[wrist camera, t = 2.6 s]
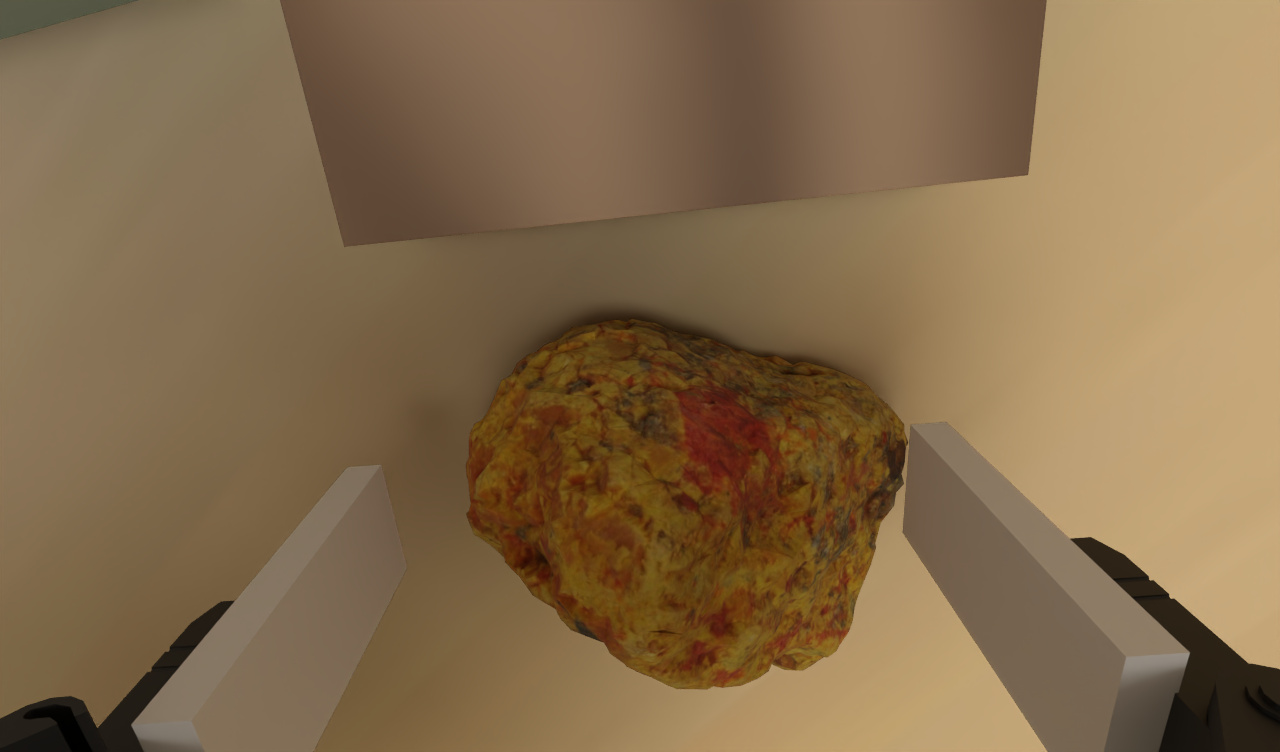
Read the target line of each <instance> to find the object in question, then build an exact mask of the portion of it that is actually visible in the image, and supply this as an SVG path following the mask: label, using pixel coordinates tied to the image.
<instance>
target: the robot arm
mask: <svg viewBox="0 0 1280 752" xmlns="http://www.w3.org/2000/svg"><path fill="white" fill-rule="evenodd" d="M903 534H904V535H905V537H906V538H907V540H908V541H909V543H910V544H911V546H912V547H913V549H914V550H915V552H916V553H917V555H918V556H919V558H920V559H921V561H922V562H923V564H924V565H925V567H926V568H927V570H928V571H929V573H930V574H931V576H932V577H933V579H934V580H935V582H936V583H937V585H938V586H939V588H940V590H941V591H942V593H943V594H944V596H945V597H946V599H947V600H948V602H949V603H950V605H951V606H952V608H953V609H954V611H955V612H956V614H957V615H958V617H959V618H960V620H961V621H962V623H963V624H964V626H965V627H966V629H967V630H968V632H969V633H970V635H971V636H972V638H973V639H974V641H975V642H976V644H977V645H978V647H979V648H980V650H981V651H982V653H983V654H984V656H985V657H986V659H987V661H988V662H989V664H990V665H991V667H992V668H993V670H994V671H995V673H996V674H997V676H998V677H999V679H1000V680H1001V682H1002V683H1003V685H1004V686H1005V688H1006V689H1007V691H1008V692H1009V694H1010V695H1011V697H1012V698H1013V700H1014V701H1015V703H1016V704H1017V706H1018V707H1019V709H1020V710H1021V712H1022V713H1023V715H1024V716H1025V718H1026V719H1027V721H1028V722H1029V724H1030V725H1031V727H1032V728H1033V730H1034V732H1035V733H1036V735H1037V736H1038V738H1039V739H1040V741H1041V742H1042V744H1043V745H1044V747H1045V748H1046V750H1047V751H1048V752H1280V669H1277V668H1271V667H1266V666H1261V665H1256V664H1248V663H1247V662H1246V661H1245V660H1244V659H1243V658H1242V657H1240V656H1239V655H1238V654H1237V653H1236V652H1235V651H1234V650H1232V649H1231V648H1230V647H1229V646H1228V645H1227V644H1226V643H1224V642H1223V641H1222V640H1221V639H1220V638H1219V637H1218V636H1216V635H1215V634H1214V633H1213V632H1212V631H1211V630H1210V629H1208V628H1207V627H1206V626H1205V625H1204V624H1203V623H1202V622H1200V621H1199V620H1198V619H1197V618H1196V617H1195V616H1194V615H1192V614H1191V613H1190V612H1189V611H1188V610H1187V609H1186V608H1184V607H1183V606H1182V605H1181V604H1180V603H1179V602H1178V601H1176V600H1175V599H1170V597H1169V594H1168V593H1167V592H1166V591H1165V590H1164V589H1163V588H1162V587H1160V586H1159V585H1158V584H1157V583H1156V582H1155V581H1153V580H1152V581H1150V580H1149V576H1148V575H1147V574H1145V573H1144V572H1143V571H1142V570H1141V569H1140V568H1139V567H1137V566H1136V565H1135V564H1134V563H1133V562H1132V561H1131V560H1129V559H1128V558H1127V557H1126V556H1125V555H1124V554H1122V553H1120V552H1118V551H1116V550H1114V549H1112V548H1110V547H1108V546H1107V545H1105V544H1103V543H1101V542H1099V541H1097V540H1095V539H1093V538H1091V537H1088V538H1074V539H1069V538H1068V537H1067V536H1066V535H1065V534H1064V533H1063V532H1062V531H1061V530H1060V529H1059V528H1058V527H1057V526H1056V525H1055V524H1054V523H1053V522H1051V521H1050V520H1049V519H1048V518H1047V517H1046V516H1045V515H1044V514H1043V513H1042V512H1041V511H1040V510H1039V509H1038V508H1037V507H1036V506H1035V505H1034V504H1032V503H1031V502H1030V501H1029V500H1028V499H1027V498H1026V497H1025V496H1024V495H1023V494H1022V493H1021V492H1020V491H1019V490H1018V489H1017V488H1016V487H1015V486H1013V485H1012V484H1011V483H1010V482H1009V481H1008V480H1007V479H1006V478H1005V477H1004V476H1003V475H1002V474H1001V473H1000V472H999V471H998V470H997V469H995V468H994V467H993V466H992V465H991V464H990V463H989V462H988V461H987V460H986V459H985V458H984V457H983V456H982V455H981V454H980V453H979V452H978V451H976V450H975V449H974V448H973V447H972V446H971V445H970V444H969V443H968V442H967V441H966V440H965V439H964V438H963V437H962V436H961V435H960V434H959V433H957V432H956V431H955V430H954V429H953V428H952V427H951V426H950V425H949V424H948V423H947V422H939V423H925V424H912V425H911V428H910V441H909V454H908V467H907V481H906V494H905V507H904V520H903ZM406 570H407V565H406V561H405V557H404V553H403V549H402V545H401V541H400V537H399V533H398V529H397V525H396V521H395V517H394V513H393V509H392V505H391V501H390V497H389V493H388V489H387V485H386V481H385V477H384V473H383V469H382V465H369V466H356V467H347V468H346V469H345V470H344V471H343V473H342V474H341V475H340V476H339V477H338V479H337V480H336V481H335V482H334V483H333V485H332V486H331V487H330V488H329V489H328V491H327V492H326V493H325V494H324V495H323V496H322V498H321V499H320V500H319V501H318V502H317V504H316V505H315V506H314V507H313V508H312V510H311V511H310V512H309V513H308V514H307V516H306V517H305V518H304V519H303V520H302V522H301V523H300V524H299V525H298V526H297V528H296V529H295V530H294V531H293V532H292V533H291V535H290V536H289V537H288V538H287V539H286V541H285V542H284V543H283V544H282V545H281V547H280V548H279V549H278V550H277V551H276V553H275V554H274V555H273V556H272V557H271V559H270V560H269V561H268V562H267V563H266V564H265V566H264V567H263V568H262V569H261V570H260V572H259V573H258V574H257V575H256V576H255V578H254V579H253V580H252V581H251V582H250V584H249V585H248V586H247V587H246V588H245V590H244V591H243V592H242V593H241V594H240V596H239V597H238V598H237V599H236V600H235V601H223V602H220V603H218V604H217V605H216V606H214V607H213V608H211V609H210V610H209V611H207V612H206V613H204V614H203V615H202V616H200V617H199V618H198V619H196V620H195V621H193V622H192V623H191V624H190V625H189V626H188V627H187V628H186V629H185V631H184V632H183V633H182V634H181V635H180V636H179V637H178V638H177V640H176V641H175V642H174V643H173V644H172V645H171V646H170V651H169V652H165V653H164V654H163V655H162V656H161V658H160V659H159V660H158V661H157V662H156V663H155V664H154V665H153V667H152V671H151V672H147V673H146V674H145V676H144V677H143V678H142V679H141V680H140V681H139V682H138V683H137V685H136V686H135V687H134V688H133V689H132V690H131V691H130V692H129V694H128V695H127V696H126V697H125V698H124V699H123V700H122V701H121V703H120V704H119V705H118V706H117V707H116V708H115V709H114V710H113V712H112V713H111V714H110V715H109V716H108V717H107V718H106V719H105V721H104V722H103V723H102V724H101V725H100V726H99V727H98V728H97V727H96V725H95V723H94V721H93V719H92V717H91V715H90V713H89V711H88V709H87V707H86V705H85V703H84V701H82V700H79V699H77V698H74V697H72V696H68V697H56V698H49V699H46V700H43V701H40V702H37V703H34V704H30V705H27V706H25V707H23V708H21V709H19V710H17V711H15V712H13V713H11V714H9V715H7V716H5V717H3V718H1V719H0V752H314V750H315V748H316V746H317V744H318V742H319V740H320V738H321V736H322V734H323V732H324V730H325V728H326V726H327V724H328V722H329V720H330V718H331V716H332V714H333V713H334V711H335V709H336V707H337V705H338V703H339V701H340V699H341V697H342V695H343V693H344V691H345V689H346V687H347V685H348V683H349V681H350V679H351V677H352V675H353V673H354V671H355V669H356V667H357V666H358V664H359V662H360V660H361V658H362V656H363V654H364V652H365V650H366V648H367V646H368V644H369V642H370V640H371V638H372V636H373V634H374V632H375V630H376V628H377V626H378V624H379V622H380V620H381V619H382V617H383V615H384V613H385V611H386V609H387V607H388V605H389V603H390V601H391V599H392V597H393V595H394V593H395V591H396V589H397V587H398V585H399V583H400V581H401V579H402V577H403V575H404V574H405V572H406Z"/></svg>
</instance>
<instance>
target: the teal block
mask: <svg viewBox="0 0 1280 752" xmlns="http://www.w3.org/2000/svg"><path fill="white" fill-rule="evenodd" d="M134 1H137V0H0V39H4V38H7V37H11V36H14V35H18V34H21V33H25V32H28V31H32V30H35V29H39V28H42V27H46V26H49V25H53V24H56V23H60V22H63V21H67V20H70V19H74V18H77V17H81V16H85V15H88V14H92V13H95V12H99V11H102V10H106V9H109V8H113V7H116V6H120V5H123V4H127V3H130V2H134Z"/></svg>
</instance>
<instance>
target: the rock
mask: <svg viewBox="0 0 1280 752" xmlns="http://www.w3.org/2000/svg"><path fill="white" fill-rule="evenodd" d="M907 444H908V441H907V438H906V435H905V432H904V424H903V423H902V421H901V420H900V419H899V418H898V416H897V415H896V414H895V412H894V411H893V410H892V409H891V407H889V406H888V405H887V404H886V403H885V402H884V401H882V400H881V399H880V398H879V397H877V396H876V395H875V394H874V392H873V391H872V390H871V389H870V388H869V387H868V386H867V385H866V384H865V383H863V382H861V381H859V380H857V379H855V378H853V377H851V376H849V375H847V374H844V373H841V372H839V371H836V370H834V369H830V368H826V367H822V366H818V365H814V364H809V363H805V362H799V363H797V364H795V365H792V364H790V363H789V362H787V361H785V360H783V359H782V358H780V357H778V356H770V357H756V356H753V355H751V354H749V353H747V352H746V351H744V350H743V351H736V350H734V349H732V348H730V347H729V346H726V345H723V344H720V343H718V342H716V341H714V340H712V339H710V338H706V337H701V336H696V335H683V334H680V333H677V332H674V331H671V330H668V329H666V328H665V327H663V326H661V325H658V324H656V323H654V322H652V323H648V322H644V321H639V320H635V319H631V320H629V321H628V322H623V321H619V320H610V321H604V322H601V323H598V324H594V325H586V326H578V327H571V330H569V331H567V332H565V333H564V334H563V336H562V337H561V338H560V339H558V340H557V341H554V342H551V343H548V344H546V345H544V346H543V347H542V348H541V349H539V350H538V351H537V352H535V353H531V354H528V355H527V356H526V357H524V358H523V359H522V360H521V361H519V362H518V363H517V365H516V367H515V369H514V371H513V373H512V375H510V376H509V377H507V378H505V379H503V380H502V381H501V383H500V385H499V388H498V390H497V393H496V395H495V398H494V400H493V402H492V404H491V406H490V408H489V410H488V412H487V414H486V415H485V416H484V418H483V419H482V420H481V421H479V422H478V423H476V424H474V426H473V428H472V430H471V432H470V437H469V458H468V461H467V463H466V472H467V478H468V482H469V492H470V501H471V506H470V510H469V511H468V512H467V518H468V520H469V523H470V525H471V528H472V530H473V533H474V535H476V536H478V537H480V538H481V539H482V540H484V541H485V542H487V543H488V544H490V545H491V546H493V547H494V548H495V549H496V550H497V551H498V552H499V553H500V554H501V555H502V556H503V557H504V558H505V562H506V563H507V564H508V565H509V566H510V568H511V569H512V570H513V571H514V572H515V573H516V574H517V575H519V577H520V578H521V579H522V581H523V582H524V584H525V585H526V586H527V588H528V589H529V591H530V592H531V594H532V595H533V596H535V597H537V598H538V599H540V600H541V601H543V602H545V603H546V604H548V605H550V606H552V607H553V608H555V609H556V610H557V613H558V615H559V617H560V618H561V620H562V621H563V622H564V623H565V624H566V625H567V626H568V627H569V628H570V629H571V630H573V631H575V632H578V633H580V634H583V635H585V636H588V637H590V638H593V639H595V640H598V641H601V642H604V643H605V645H606V647H607V648H608V650H609V652H610V654H612V655H613V656H614V657H616V658H617V659H619V660H620V661H621V662H623V663H624V664H625V665H626V666H627V667H629V668H631V669H633V670H635V671H637V672H639V673H642V674H644V675H647V676H650V677H652V678H654V679H656V680H658V681H660V682H662V683H664V684H666V685H668V686H671V687H674V688H676V689H709V688H711V687H712V686H716V687H722V688H723V687H732V686H741V685H744V684H746V683H748V682H751V681H753V680H755V679H757V678H759V677H761V676H762V675H763V674H765V673H766V672H768V671H769V669H770V667H771V664H773V665H775V666H777V667H780V668H782V669H784V670H804V669H806V668H808V667H809V666H811V665H813V664H814V663H816V662H817V661H818V660H820V659H821V658H823V657H829V656H830V655H831V654H833V653H834V652H836V651H837V649H838V647H839V645H840V644H841V642H842V641H843V639H844V638H845V636H846V635H847V633H848V632H849V629H850V626H851V624H852V621H853V614H854V607H855V604H856V600H857V597H858V594H859V592H860V589H861V587H862V584H863V582H864V580H865V577H866V575H867V572H868V570H869V567H870V565H871V562H872V559H873V555H874V552H875V549H876V545H875V542H876V538H877V534H878V531H879V527H880V523H881V521H882V520H883V519H884V518H885V516H886V515H887V514H888V513H889V511H890V510H891V509H892V507H893V506H894V502H895V496H896V492H897V491H898V490H899V488H900V487H901V486H902V485H903V484H904V482H903V478H902V475H901V473H902V470H903V467H904V462H905V450H906V446H907Z"/></svg>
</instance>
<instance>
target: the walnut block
mask: <svg viewBox="0 0 1280 752" xmlns="http://www.w3.org/2000/svg"><path fill="white" fill-rule="evenodd" d="M280 2H281V6H282V9H283V13H284V17H285V21H286V25H287V29H288V32H289V36H290V40H291V44H292V48H293V52H294V55H295V59H296V63H297V67H298V71H299V75H300V79H301V82H302V86H303V90H304V94H305V98H306V102H307V105H308V109H309V113H310V117H311V121H312V125H313V128H314V132H315V136H316V140H317V144H318V148H319V151H320V155H321V159H322V163H323V167H324V171H325V174H326V178H327V182H328V186H329V190H330V194H331V197H332V201H333V205H334V209H335V213H336V217H337V220H338V224H339V228H340V232H341V236H342V240H343V243H344V247H346V246H355V245H365V244H374V243H384V242H393V241H403V240H412V239H422V238H432V237H441V236H451V235H460V234H470V233H479V232H489V231H498V230H508V229H518V228H527V227H537V226H546V225H556V224H565V223H575V222H584V221H594V220H604V219H613V218H623V217H632V216H642V215H651V214H661V213H670V212H680V211H689V210H699V209H709V208H718V207H728V206H737V205H747V204H756V203H766V202H775V201H785V200H795V199H804V198H814V197H823V196H833V195H842V194H852V193H861V192H871V191H881V190H890V189H900V188H909V187H919V186H928V185H938V184H947V183H957V182H966V181H976V180H986V179H995V178H1005V177H1014V176H1024V175H1028V171H1029V162H1030V152H1031V143H1032V133H1033V124H1034V114H1035V105H1036V95H1037V86H1038V76H1039V67H1040V57H1041V48H1042V38H1043V29H1044V19H1045V10H1046V0H280Z"/></svg>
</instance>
